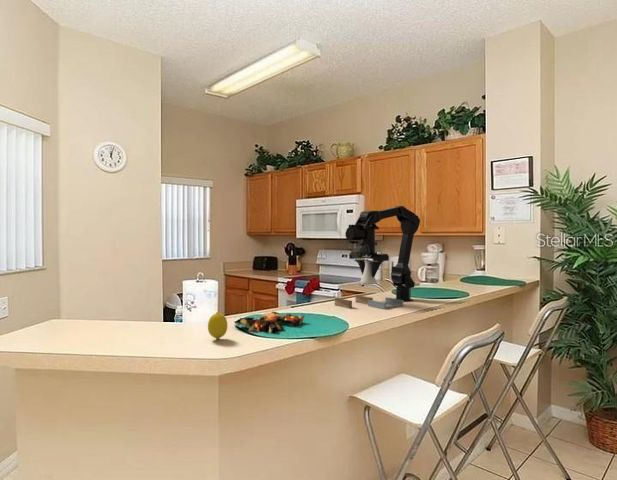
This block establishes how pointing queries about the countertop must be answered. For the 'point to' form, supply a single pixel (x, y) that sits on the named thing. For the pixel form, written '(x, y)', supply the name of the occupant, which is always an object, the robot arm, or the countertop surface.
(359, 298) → the channel
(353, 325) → the countertop surface
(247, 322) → the food
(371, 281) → the flask
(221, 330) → the lemon
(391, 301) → the cradle
